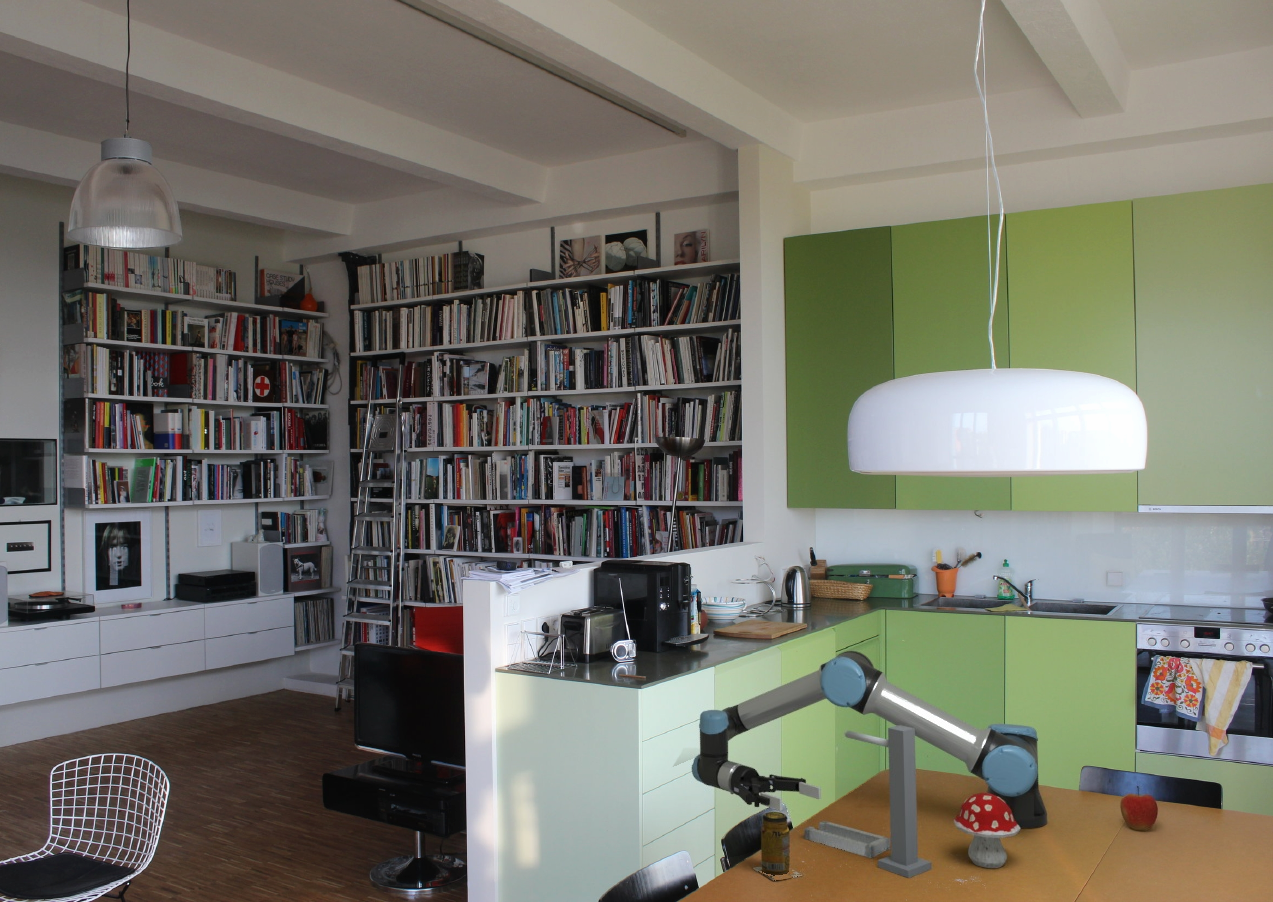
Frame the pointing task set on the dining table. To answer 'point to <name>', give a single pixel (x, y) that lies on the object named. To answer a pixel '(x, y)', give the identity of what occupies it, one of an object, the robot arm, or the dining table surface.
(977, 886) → the dining table surface
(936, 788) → the dining table surface
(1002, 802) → the decorative mushroom
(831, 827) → the c link
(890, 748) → the hook stand
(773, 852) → the condiment
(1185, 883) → the dining table surface
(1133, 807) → the apple
